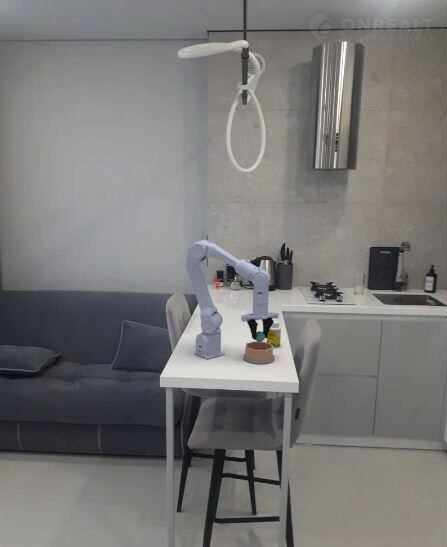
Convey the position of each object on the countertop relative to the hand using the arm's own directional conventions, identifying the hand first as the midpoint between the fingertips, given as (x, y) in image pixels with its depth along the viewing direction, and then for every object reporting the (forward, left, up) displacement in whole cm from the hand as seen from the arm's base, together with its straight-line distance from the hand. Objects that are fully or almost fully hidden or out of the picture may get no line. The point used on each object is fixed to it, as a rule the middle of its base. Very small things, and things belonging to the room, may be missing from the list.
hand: (259, 338), depth 172 cm
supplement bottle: (+15, +7, -8) cm, 19 cm away
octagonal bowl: (0, 0, -8) cm, 8 cm away
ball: (0, 0, +1) cm, 1 cm away
